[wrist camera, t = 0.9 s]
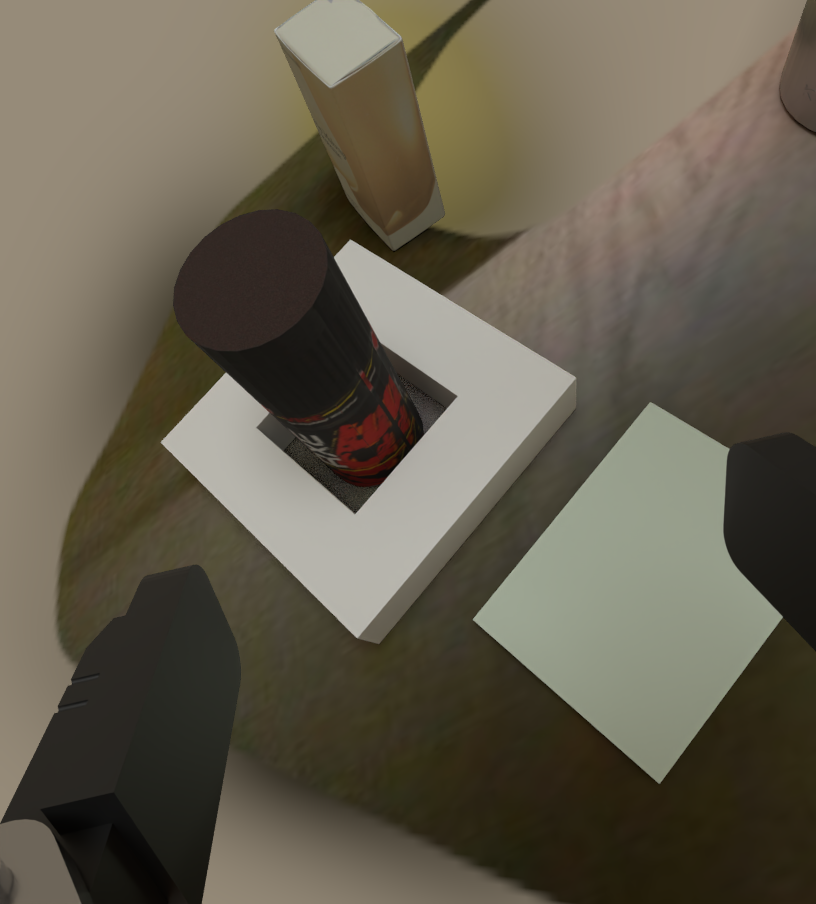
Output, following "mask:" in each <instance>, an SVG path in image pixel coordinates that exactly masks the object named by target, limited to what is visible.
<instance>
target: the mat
mask: <svg viewBox="0 0 816 904" xmlns="http://www.w3.org/2000/svg"><path fill="white" fill-rule="evenodd" d="M729 450H730V449H729V448H727V447H725V446H723V445H722V444H720V443H718V442H717V441H715V440H713V439H712V438H710V437H708V436H707V435H705V434H703V433H702V432H700V431H698V430H697V429H695V428H693V427H692V426H690V425H688V424H687V423H685V422H683V421H681V420H680V419H678V418H676V417H675V416H673V415H671V414H670V413H668V412H666V411H665V410H663V409H661V408H660V407H658V406H656V405H655V404H653V403H651V402H650V403H649V404H648V405H647V407H646V408H645V409H644V410H643V412H642V413H641V414H640V415H639V416H638V418H637V419H636V420H635V421H634V423H633V424H632V425H631V426H630V427H629V429H628V430H627V431H626V432H625V434H624V435H623V436H622V437H621V438H620V440H619V441H618V442H617V443H616V445H615V446H614V447H613V448H612V450H611V451H610V452H609V453H608V454H607V456H606V457H605V458H604V459H603V461H602V462H601V463H600V464H599V465H598V467H597V468H596V469H595V470H594V472H593V473H592V474H591V475H590V476H589V478H588V479H587V480H586V481H585V483H584V484H583V485H582V486H581V488H580V489H579V490H578V491H577V492H576V494H575V495H574V496H573V497H572V499H571V500H570V501H569V502H568V503H567V505H566V506H565V507H564V508H563V510H562V511H561V512H560V513H559V514H558V516H557V517H556V518H555V519H554V521H553V522H552V523H551V524H550V526H549V527H548V528H547V529H546V530H545V532H544V533H543V534H542V535H541V537H540V538H539V539H538V540H537V541H536V543H535V544H534V545H533V546H532V548H531V549H530V550H529V551H528V552H527V554H526V555H525V556H524V557H523V559H522V560H521V561H520V562H519V564H518V565H517V566H516V567H515V568H514V570H513V571H512V572H511V573H510V575H509V576H508V577H507V578H506V579H505V581H504V582H503V583H502V584H501V586H500V587H499V588H498V589H497V590H496V592H495V593H494V594H493V595H492V597H491V598H490V599H489V600H488V602H487V603H486V604H485V605H484V606H483V608H482V609H481V610H480V611H479V613H478V614H477V615H476V616H475V617H474V619H473V620H474V621H475V622H476V623H477V624H478V625H479V626H480V627H482V628H483V629H484V630H485V631H486V632H487V633H488V634H489V635H491V636H492V637H493V638H494V639H495V640H496V641H497V642H499V643H500V644H501V645H502V646H503V647H504V648H505V649H507V650H508V651H509V652H510V653H511V654H512V655H513V656H515V657H516V658H517V659H518V660H519V661H520V662H521V663H522V664H524V665H525V666H526V667H527V668H528V669H529V670H530V671H532V672H533V673H534V674H535V675H536V676H537V677H538V678H540V679H541V680H542V681H543V682H544V683H545V684H546V685H547V686H549V687H550V688H551V689H552V690H553V691H554V692H555V693H557V694H558V695H559V696H560V697H561V698H562V699H563V700H565V701H566V702H567V703H568V704H569V705H570V706H571V707H572V708H574V709H575V710H576V711H577V712H578V713H579V714H580V715H582V716H583V717H584V718H585V719H586V720H587V721H588V722H590V723H591V724H592V725H593V726H594V727H595V728H596V729H597V730H599V731H600V732H601V733H602V734H603V735H604V736H605V737H607V738H608V739H609V740H610V741H611V742H612V743H613V744H615V745H616V746H617V747H618V748H619V749H620V750H621V751H622V752H624V753H625V754H626V755H627V756H628V757H629V758H630V759H632V760H633V761H634V762H635V763H636V764H637V765H638V766H640V767H641V768H642V769H643V770H644V771H645V772H646V773H647V774H649V775H650V776H651V777H652V778H653V779H654V780H655V781H657V782H658V783H659V784H660V783H661V781H662V780H663V779H664V777H665V776H666V775H667V773H668V772H669V771H670V769H671V768H672V766H673V765H674V764H675V762H676V761H677V760H678V758H679V757H680V756H681V754H682V753H683V752H684V750H685V749H686V748H687V746H688V745H689V743H690V742H691V741H692V739H693V738H694V737H695V735H696V734H697V733H698V731H699V730H700V729H701V727H702V726H703V724H704V723H705V722H706V720H707V719H708V718H709V716H710V715H711V714H712V712H713V711H714V710H715V708H716V707H717V706H718V704H719V703H720V701H721V700H722V699H723V697H724V696H725V695H726V693H727V692H728V691H729V689H730V688H731V687H732V685H733V684H734V683H735V681H736V680H737V678H738V677H739V676H740V674H741V673H742V672H743V670H744V669H745V668H746V666H747V665H748V664H749V662H750V661H751V659H752V658H753V657H754V655H755V654H756V653H757V651H758V650H759V649H760V647H761V646H762V645H763V643H764V642H765V641H766V639H767V638H768V636H769V635H770V634H771V632H772V631H773V630H774V628H775V627H776V626H777V624H778V623H779V622H780V620H781V619H782V618H783V616H782V615H781V614H780V613H779V612H778V611H777V610H776V609H775V608H774V607H773V606H772V605H771V604H770V603H769V602H768V601H767V600H766V598H765V597H764V596H763V595H762V594H761V593H760V592H759V591H758V590H757V589H756V588H755V587H754V586H753V585H752V584H751V583H750V582H749V581H748V580H747V579H746V577H745V576H744V575H743V574H742V573H741V572H740V571H739V570H738V569H737V567H736V566H735V564H734V563H733V561H732V559H731V557H730V555H729V553H728V550H727V548H726V544H725V540H724V534H723V523H724V504H725V484H726V465H727V456H728V452H729Z"/></svg>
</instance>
